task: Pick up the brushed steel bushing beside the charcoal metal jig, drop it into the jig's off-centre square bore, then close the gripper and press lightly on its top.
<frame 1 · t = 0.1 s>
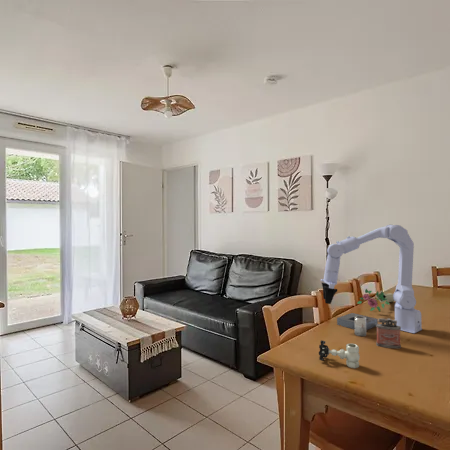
hand: (326, 301, 144), 10 cm above the table, fingers open, 7 cm apart
flower vase: (381, 308, 169), on the table
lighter: (388, 346, 119), on the table
valve: (339, 364, 106), on the table
jig: (357, 325, 143), on the table
bushing: (360, 334, 132), on the table
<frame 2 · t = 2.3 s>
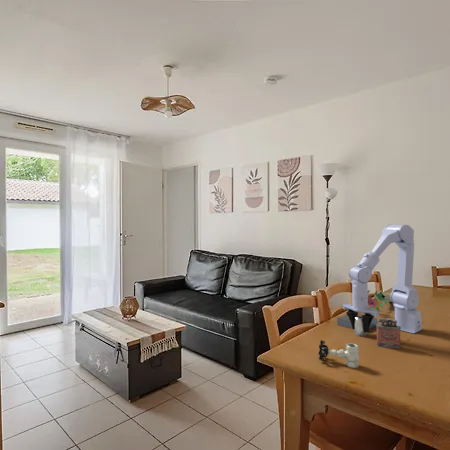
hand: (360, 330, 131), 2 cm above the table, fingers closed on bushing, 4 cm apart
bushing: (360, 334, 132), on the table, touching gripper
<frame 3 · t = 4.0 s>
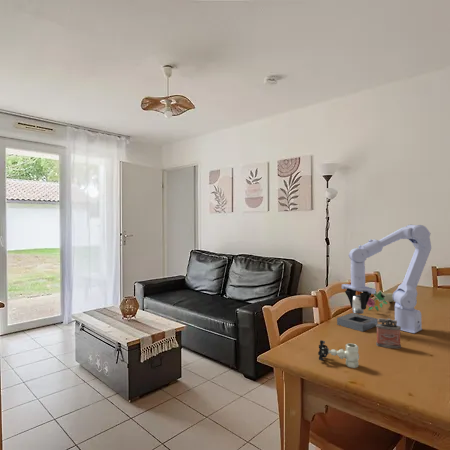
hand: (358, 307, 140), 8 cm above the table, fingers closed on bushing, 4 cm apart
bushing: (358, 312, 140), point 7 cm above the table, touching gripper
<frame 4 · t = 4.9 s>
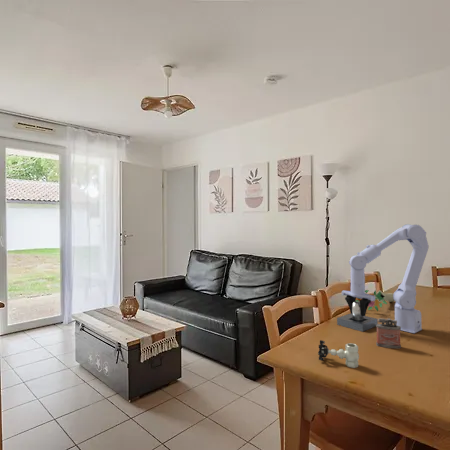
hand: (357, 314, 141), 5 cm above the table, fingers closed on bushing, 4 cm apart
bushing: (357, 318, 141), point 3 cm above the table, touching gripper
when the fingers open (4 cm above the table, at t = 5.7 s): bushing drops 2 cm, resting in jig.
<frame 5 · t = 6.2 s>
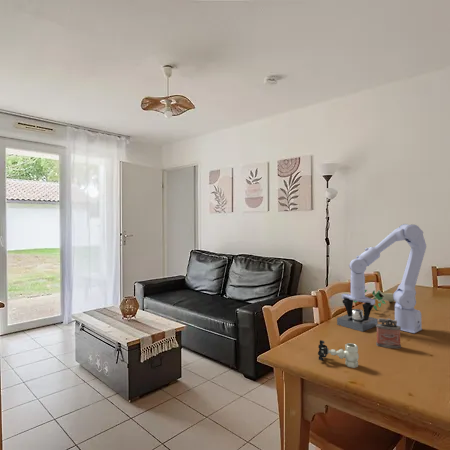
hand: (358, 317, 141), 4 cm above the table, fingers open, 7 cm apart
bushing: (357, 326, 141), resting in jig
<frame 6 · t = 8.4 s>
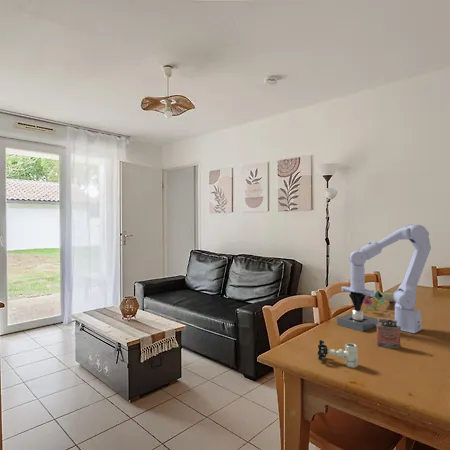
hand: (357, 310, 141), 7 cm above the table, fingers closed, pressing on bushing
bushing: (357, 326, 141), resting in jig, touching gripper
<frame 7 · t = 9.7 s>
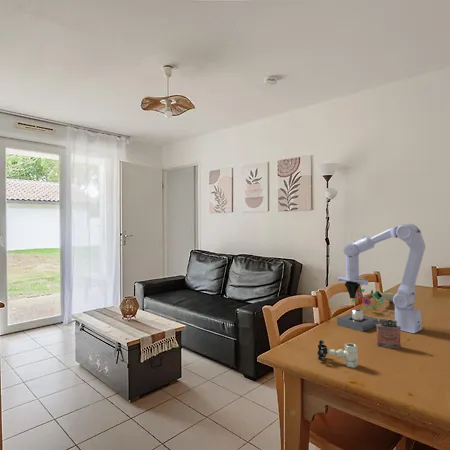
hand: (352, 298, 153), 9 cm above the table, fingers closed
bushing: (357, 326, 141), resting in jig
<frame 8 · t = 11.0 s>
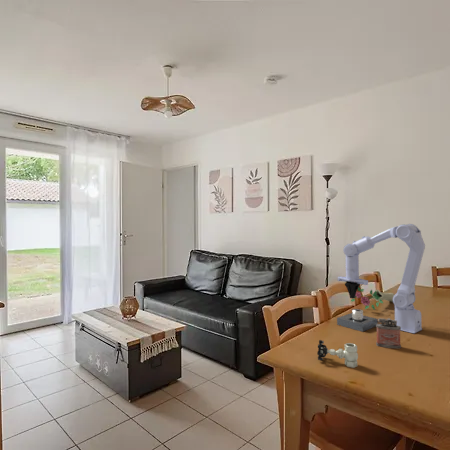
hand: (352, 298, 153), 9 cm above the table, fingers closed
at the end: bushing 0.3 cm from the target spot on the jig, point 0.0 cm above the jig's base; bushing tilted 0°; the gripper is holding nothing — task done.
